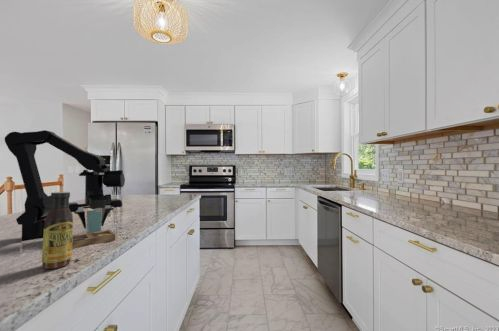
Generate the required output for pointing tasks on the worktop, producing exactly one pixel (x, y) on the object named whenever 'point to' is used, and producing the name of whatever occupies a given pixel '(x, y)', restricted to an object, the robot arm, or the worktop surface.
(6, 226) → the worktop surface
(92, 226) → the plug
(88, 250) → the worktop surface
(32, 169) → the robot arm
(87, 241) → the socket box
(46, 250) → the sauce bottle
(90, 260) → the worktop surface
